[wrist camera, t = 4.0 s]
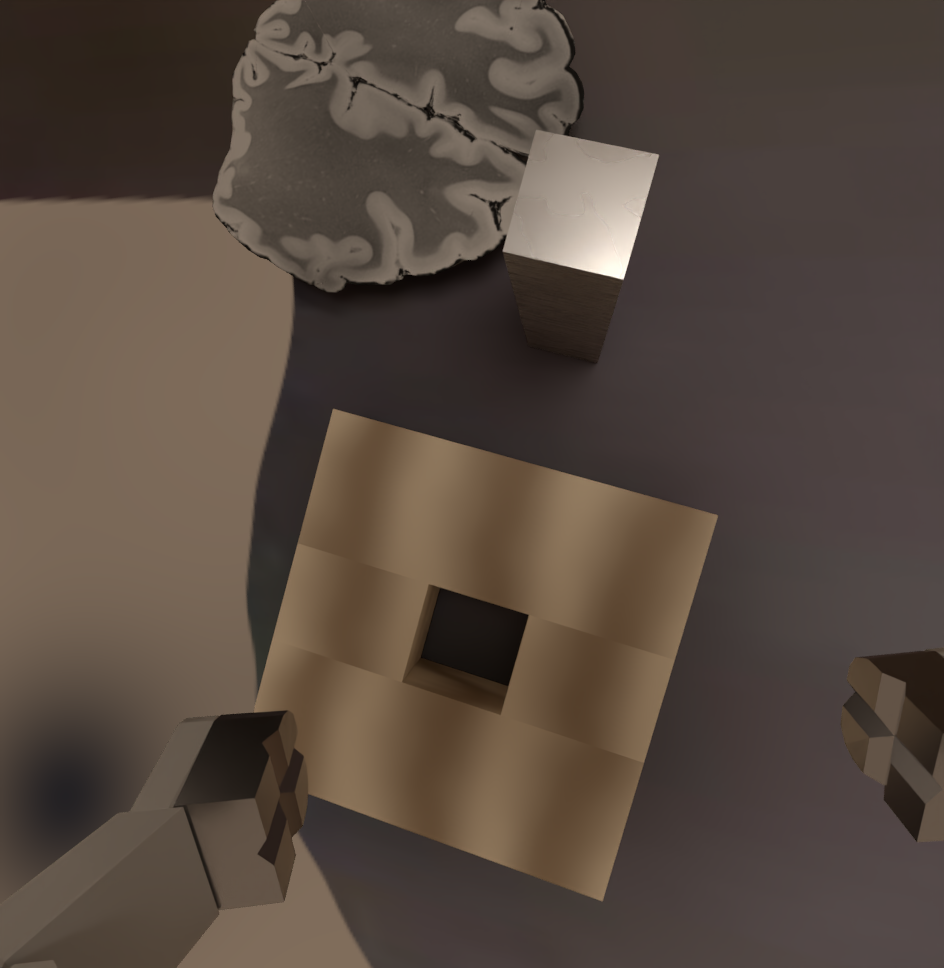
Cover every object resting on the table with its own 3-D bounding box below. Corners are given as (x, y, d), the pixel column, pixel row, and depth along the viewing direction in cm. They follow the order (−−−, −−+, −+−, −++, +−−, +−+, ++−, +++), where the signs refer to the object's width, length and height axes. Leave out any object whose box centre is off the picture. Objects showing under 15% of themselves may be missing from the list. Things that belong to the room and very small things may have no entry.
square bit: (528, 346, 33) (502, 251, 19) (547, 277, 32) (536, 129, 18) (597, 363, 32) (623, 279, 18) (617, 293, 32) (659, 154, 18)
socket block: (275, 734, 35) (238, 768, 31) (360, 416, 34) (333, 408, 30) (597, 849, 32) (602, 901, 28) (698, 510, 31) (718, 515, 27)
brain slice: (470, 371, 33) (460, 361, 30) (201, 235, 35) (168, 213, 32) (650, 17, 32) (658, -30, 29) (358, -104, 34) (338, -159, 31)
